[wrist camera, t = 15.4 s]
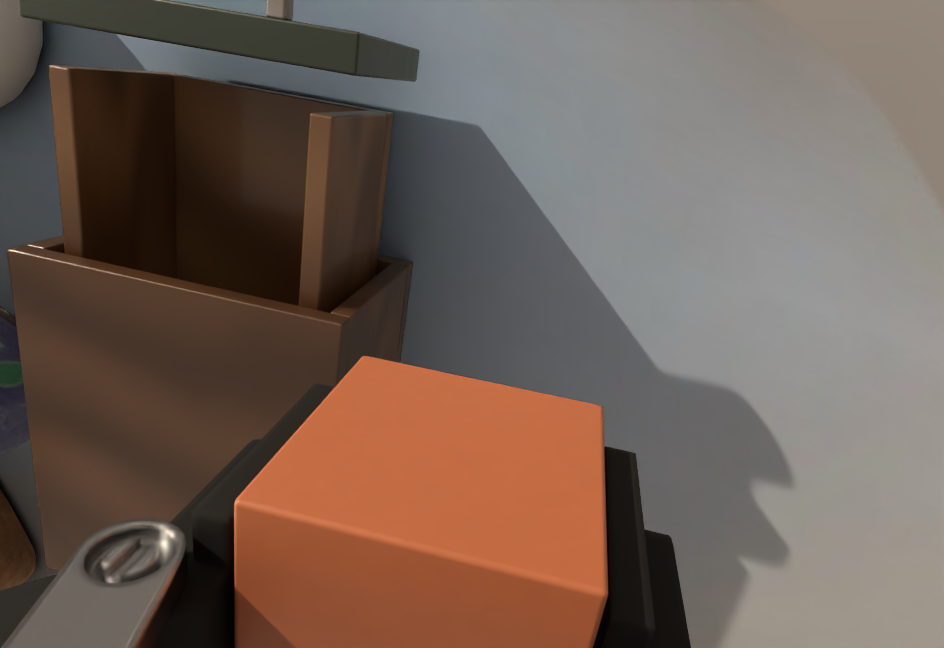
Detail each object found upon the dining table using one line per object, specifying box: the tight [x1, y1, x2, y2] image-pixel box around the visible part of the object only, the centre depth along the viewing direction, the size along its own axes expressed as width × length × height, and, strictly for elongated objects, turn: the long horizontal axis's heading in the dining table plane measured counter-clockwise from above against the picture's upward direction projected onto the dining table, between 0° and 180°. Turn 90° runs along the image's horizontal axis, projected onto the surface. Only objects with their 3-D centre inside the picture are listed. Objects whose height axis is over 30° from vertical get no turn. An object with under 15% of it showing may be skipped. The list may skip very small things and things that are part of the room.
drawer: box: [18, 0, 419, 313], centre depth 23 cm, size 19×11×7 cm, turn 171°
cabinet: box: [7, 235, 413, 571], centre depth 28 cm, size 15×13×9 cm
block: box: [234, 356, 608, 648], centre depth 10 cm, size 4×4×4 cm
